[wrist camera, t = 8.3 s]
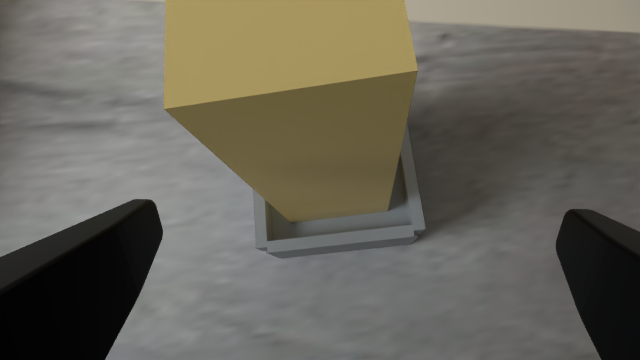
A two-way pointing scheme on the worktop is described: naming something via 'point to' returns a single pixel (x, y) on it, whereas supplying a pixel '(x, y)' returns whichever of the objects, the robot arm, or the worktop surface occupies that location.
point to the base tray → (347, 221)
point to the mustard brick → (296, 96)
